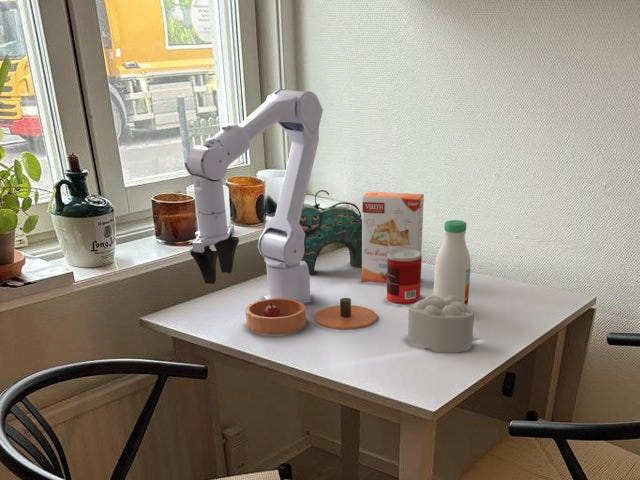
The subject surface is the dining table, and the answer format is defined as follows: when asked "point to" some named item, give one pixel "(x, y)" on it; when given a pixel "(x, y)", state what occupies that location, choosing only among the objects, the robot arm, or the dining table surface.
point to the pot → (276, 324)
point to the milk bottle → (453, 263)
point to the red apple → (271, 311)
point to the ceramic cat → (331, 231)
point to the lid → (345, 316)
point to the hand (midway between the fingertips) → (218, 277)
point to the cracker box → (388, 229)
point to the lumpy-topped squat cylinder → (441, 324)
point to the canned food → (403, 276)
